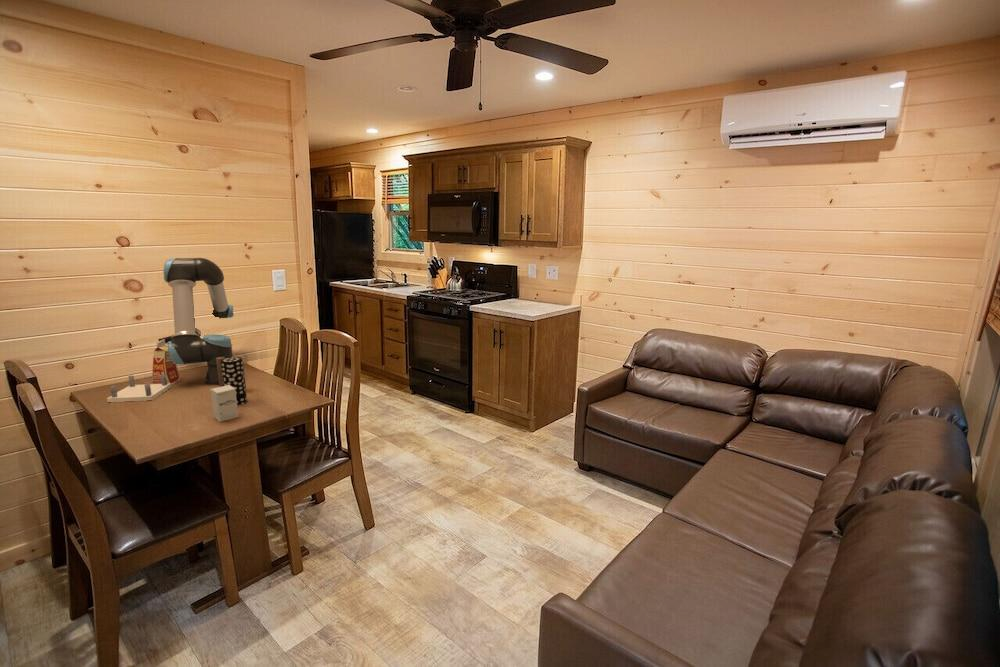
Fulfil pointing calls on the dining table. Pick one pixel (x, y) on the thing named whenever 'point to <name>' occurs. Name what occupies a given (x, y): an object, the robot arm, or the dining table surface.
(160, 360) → the milk carton
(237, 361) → the white-spotted black cylinder
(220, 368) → the wooden block
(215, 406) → the supplement box
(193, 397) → the dining table surface
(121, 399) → the peg platform
